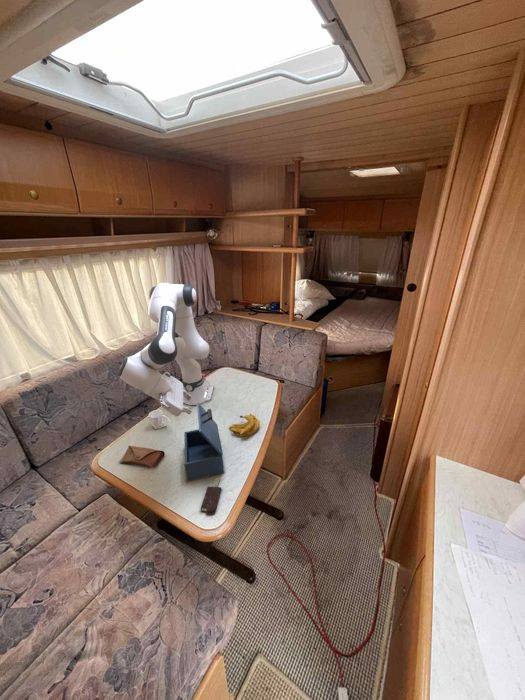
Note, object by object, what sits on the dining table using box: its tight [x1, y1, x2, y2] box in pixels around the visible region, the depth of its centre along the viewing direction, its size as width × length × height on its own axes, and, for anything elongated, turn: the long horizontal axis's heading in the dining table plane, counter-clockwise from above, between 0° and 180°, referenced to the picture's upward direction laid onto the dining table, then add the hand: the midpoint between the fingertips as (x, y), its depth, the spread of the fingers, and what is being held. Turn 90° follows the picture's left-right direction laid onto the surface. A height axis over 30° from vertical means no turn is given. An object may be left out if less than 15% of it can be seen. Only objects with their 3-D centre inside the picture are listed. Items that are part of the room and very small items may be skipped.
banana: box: [229, 413, 261, 437], centre depth 139 cm, size 15×19×6 cm
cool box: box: [183, 428, 225, 482], centre depth 120 cm, size 15×20×9 cm
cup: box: [147, 409, 170, 430], centre depth 141 cm, size 7×10×8 cm
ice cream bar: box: [200, 476, 222, 515], centre depth 104 cm, size 5×2×15 cm
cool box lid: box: [196, 403, 224, 457], centre depth 116 cm, size 16×20×5 cm
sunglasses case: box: [119, 445, 165, 469], centre depth 122 cm, size 18×7×7 cm, turn 79°
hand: (190, 404), depth 109 cm, fingers open, 8 cm apart
